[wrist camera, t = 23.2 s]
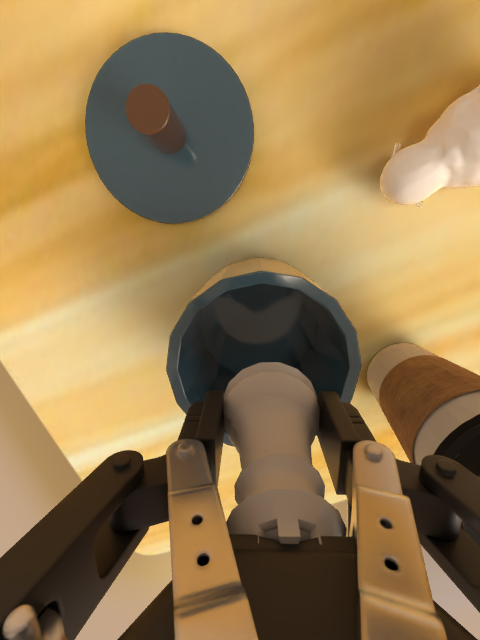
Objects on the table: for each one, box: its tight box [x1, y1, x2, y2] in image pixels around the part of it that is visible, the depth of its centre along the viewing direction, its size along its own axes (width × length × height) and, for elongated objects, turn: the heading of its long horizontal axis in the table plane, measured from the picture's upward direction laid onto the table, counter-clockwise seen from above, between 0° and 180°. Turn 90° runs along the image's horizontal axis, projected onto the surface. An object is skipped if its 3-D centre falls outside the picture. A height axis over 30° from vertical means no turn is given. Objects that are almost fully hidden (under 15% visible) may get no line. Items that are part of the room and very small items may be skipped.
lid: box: [85, 33, 254, 224], centre depth 21 cm, size 12×12×6 cm
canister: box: [166, 257, 362, 446], centre depth 23 cm, size 11×11×10 cm
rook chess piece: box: [223, 362, 347, 544], centre depth 11 cm, size 4×4×8 cm
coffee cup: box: [367, 343, 480, 546], centre depth 21 cm, size 8×8×15 cm
